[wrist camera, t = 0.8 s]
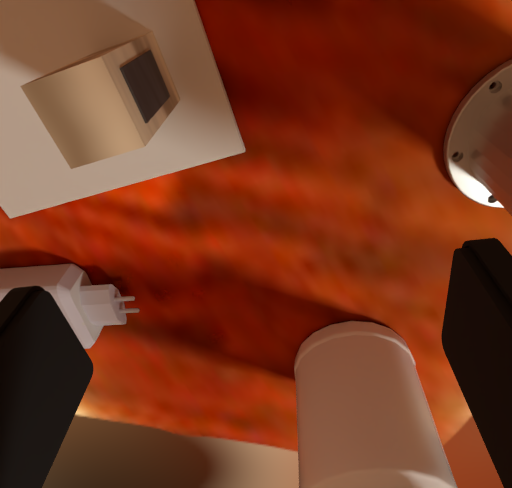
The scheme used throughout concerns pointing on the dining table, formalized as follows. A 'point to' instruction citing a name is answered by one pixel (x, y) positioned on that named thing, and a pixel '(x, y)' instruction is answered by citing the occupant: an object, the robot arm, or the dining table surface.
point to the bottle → (364, 413)
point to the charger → (73, 297)
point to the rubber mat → (79, 46)
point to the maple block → (105, 100)
